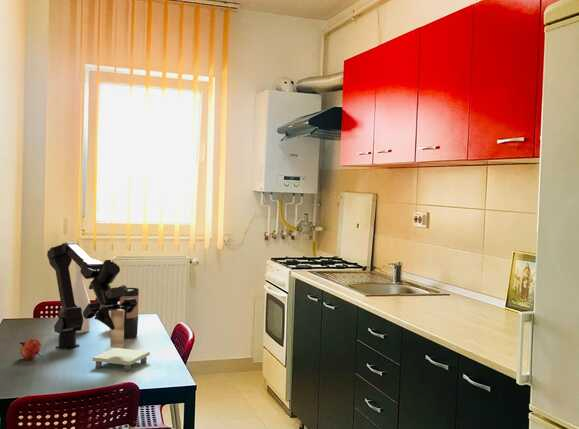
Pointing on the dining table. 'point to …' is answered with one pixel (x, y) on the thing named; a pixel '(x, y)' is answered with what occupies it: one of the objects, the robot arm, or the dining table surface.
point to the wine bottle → (81, 297)
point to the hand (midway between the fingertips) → (119, 328)
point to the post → (117, 328)
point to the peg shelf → (121, 357)
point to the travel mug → (131, 314)
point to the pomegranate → (30, 349)
